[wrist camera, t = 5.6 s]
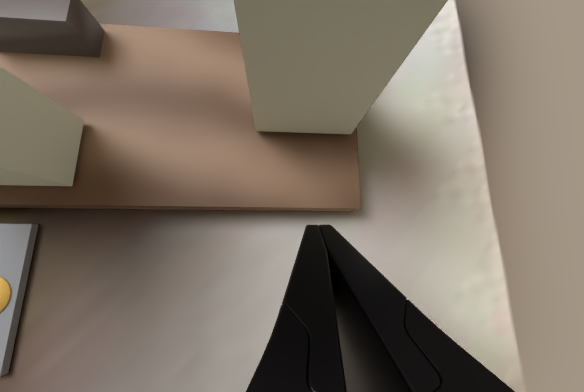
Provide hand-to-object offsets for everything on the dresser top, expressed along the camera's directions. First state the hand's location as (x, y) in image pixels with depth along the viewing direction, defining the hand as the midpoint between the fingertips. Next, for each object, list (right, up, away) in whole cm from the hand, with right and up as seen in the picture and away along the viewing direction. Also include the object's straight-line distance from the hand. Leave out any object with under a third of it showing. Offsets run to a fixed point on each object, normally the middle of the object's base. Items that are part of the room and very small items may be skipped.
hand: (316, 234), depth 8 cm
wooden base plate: (-8, +6, +8) cm, 13 cm away
